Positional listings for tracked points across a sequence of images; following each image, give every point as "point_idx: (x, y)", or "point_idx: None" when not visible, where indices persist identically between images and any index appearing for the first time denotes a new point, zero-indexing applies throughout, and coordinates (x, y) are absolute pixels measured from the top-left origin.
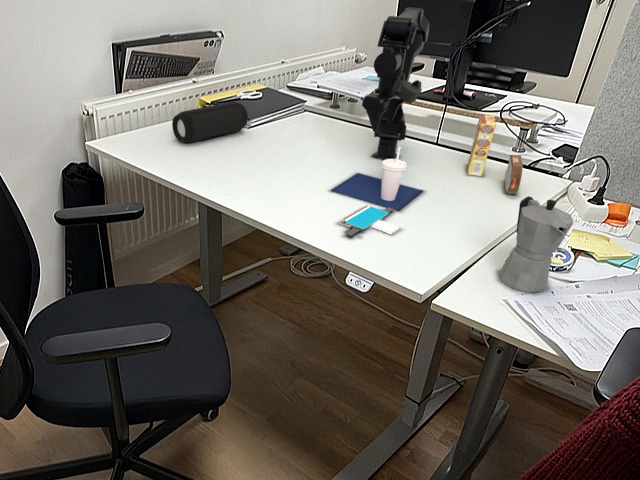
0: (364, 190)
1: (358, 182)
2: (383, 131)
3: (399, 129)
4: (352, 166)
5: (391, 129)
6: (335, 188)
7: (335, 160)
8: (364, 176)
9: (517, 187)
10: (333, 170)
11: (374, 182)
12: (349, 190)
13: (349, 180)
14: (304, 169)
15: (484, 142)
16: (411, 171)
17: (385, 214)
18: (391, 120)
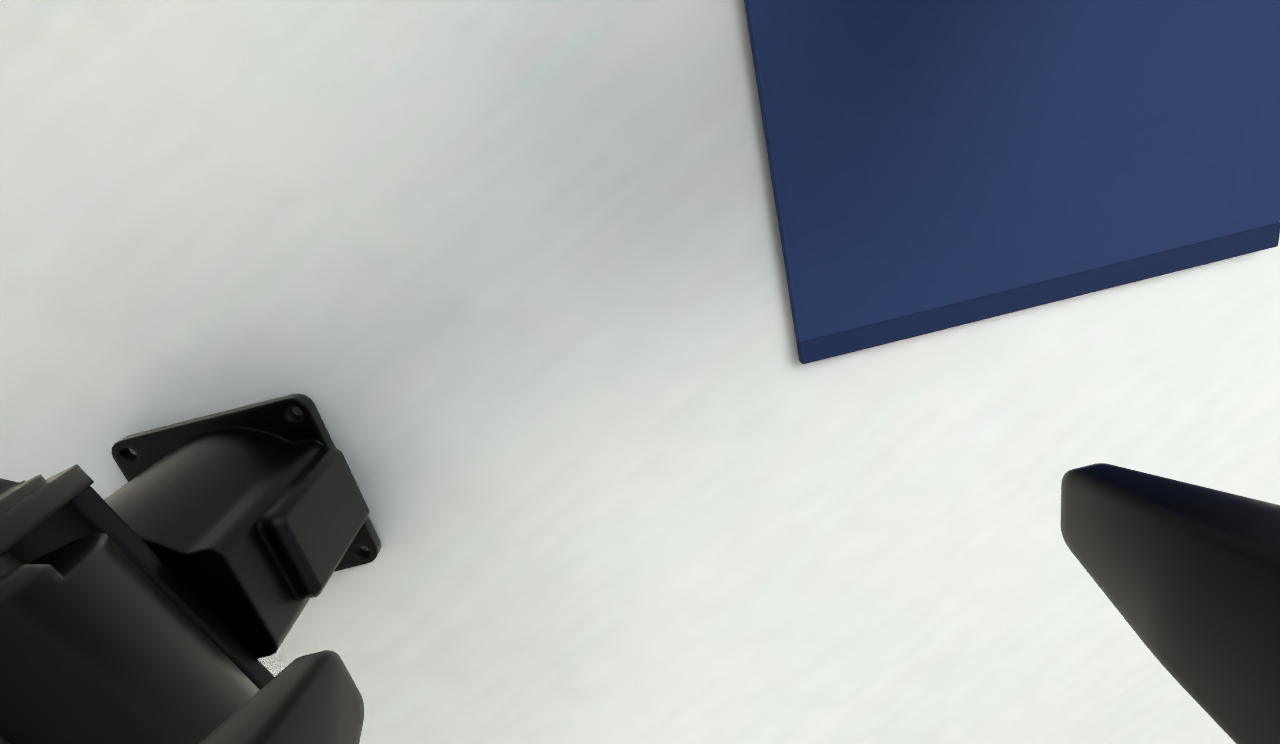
0: (1119, 44)
1: (984, 215)
2: (248, 689)
3: (22, 565)
4: (693, 494)
5: (151, 643)
6: (1231, 243)
7: (698, 635)
8: (826, 277)
9: None
10: (878, 515)
11: (881, 119)
12: (1197, 139)
13: (1000, 293)
14: (1008, 627)
15: None
16: (304, 87)
17: None
18: (280, 724)
